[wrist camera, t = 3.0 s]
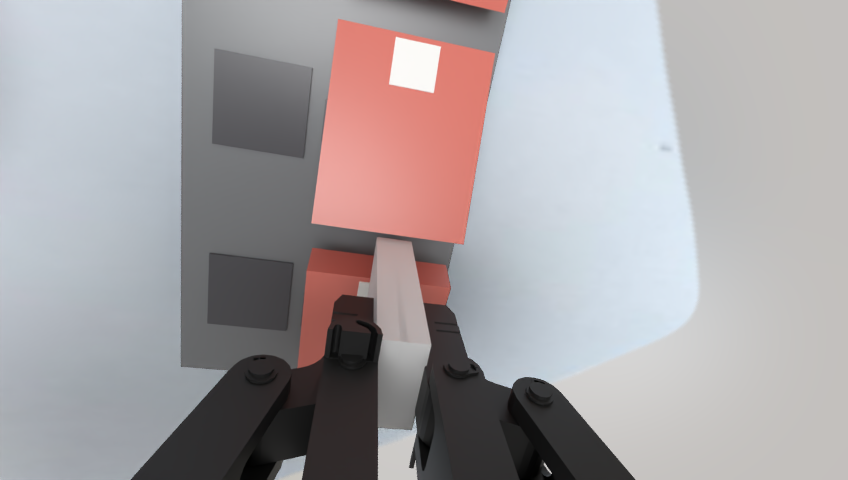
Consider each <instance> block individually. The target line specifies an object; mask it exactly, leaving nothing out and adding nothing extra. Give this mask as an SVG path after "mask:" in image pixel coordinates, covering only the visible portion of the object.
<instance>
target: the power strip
mask: <svg viewBox="0 0 848 480" xmlns="http://www.w3.org/2000/svg"><path fill="white" fill-rule="evenodd" d="M510 2H511V0H508V3H507V6H506V10H505V13H502V12H498V11H494V10H490V9H485V8H481V7H477V6H473V5H468V4H464V3H460V2H456V1H452V0H182V156H181V367H193V368H205V369H218V370H230V369H231V368H232V367H233V365H235V364H236V363H237V362H239V361H240V360H242V359H244V358H247V357H250V356H254V355H263V354H264V355H273V356H276V357H279V358H281V359H284V360H285V361H286V362H287V363H288V364H289V365H290V368H291V369H294V368H297V367H298V357H299V346H300V336H301V325H302V315H303V304H304V294H305V283H306V273H307V267H308V263H309V259H310V255H311V251H312V248H319V249H326V250H334V251H342V252H349V253H357V254H365V255H373V256H374V252H375V246H376V240H377V237H382V238H389V239H397V240H403V241H411V242H412V247H413V252H414V257H415V261H419V262H427V263H434V264H442V265H446V268H447V272H448V268H449V263H450V259H451V255H452V251H453V246H454V243H449V242H442V241H435V240H428V239H420V238H413V237H406V236H399V235H392V234H384V233H377V232H370V231H363V230H356V229H349V228H341V227H334V226H327V225H320V224H313V223H311V222H312V214H313V207H314V199H315V191H316V184H317V176H318V168H319V161H320V153H321V146H322V138H323V130H324V123H325V115H326V107H327V100H328V92H329V85H330V77H331V69H332V62H333V54H334V46H335V39H336V31H337V23H338V19H341V20H346V21H351V22H355V23H360V24H364V25H369V26H373V27H378V28H382V29H387V30H391V31H396V32H401V33H405V34H410V35H414V36H419V37H423V38H428V39H432V40H437V41H441V42H446V43H451V44H455V45H460V46H464V47H469V48H473V49H478V50H482V51H487V52H492V53H495V57H494V64H493V70H492V76H491V82H490V88H491V83H492V79H493V75H494V71H495V66H496V62H497V58H498V53H499V49H500V45H501V41H502V36H503V32H504V28H505V23H506V19H507V15H508V11H509V6H510ZM490 88H489V92H490ZM488 96H489V94H488ZM487 101H488V100H487Z"/></svg>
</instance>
